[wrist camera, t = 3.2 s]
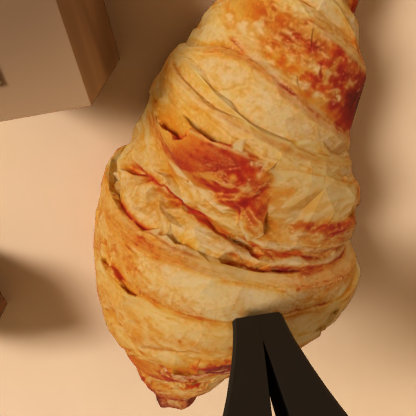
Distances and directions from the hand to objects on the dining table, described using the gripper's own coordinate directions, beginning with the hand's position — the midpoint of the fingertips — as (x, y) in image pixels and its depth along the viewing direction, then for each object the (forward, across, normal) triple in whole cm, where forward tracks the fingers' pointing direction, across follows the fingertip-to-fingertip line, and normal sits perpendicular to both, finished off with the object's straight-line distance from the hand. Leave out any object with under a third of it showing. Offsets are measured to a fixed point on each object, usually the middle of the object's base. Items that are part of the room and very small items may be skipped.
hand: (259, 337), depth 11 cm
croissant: (+7, 0, 0) cm, 7 cm away
